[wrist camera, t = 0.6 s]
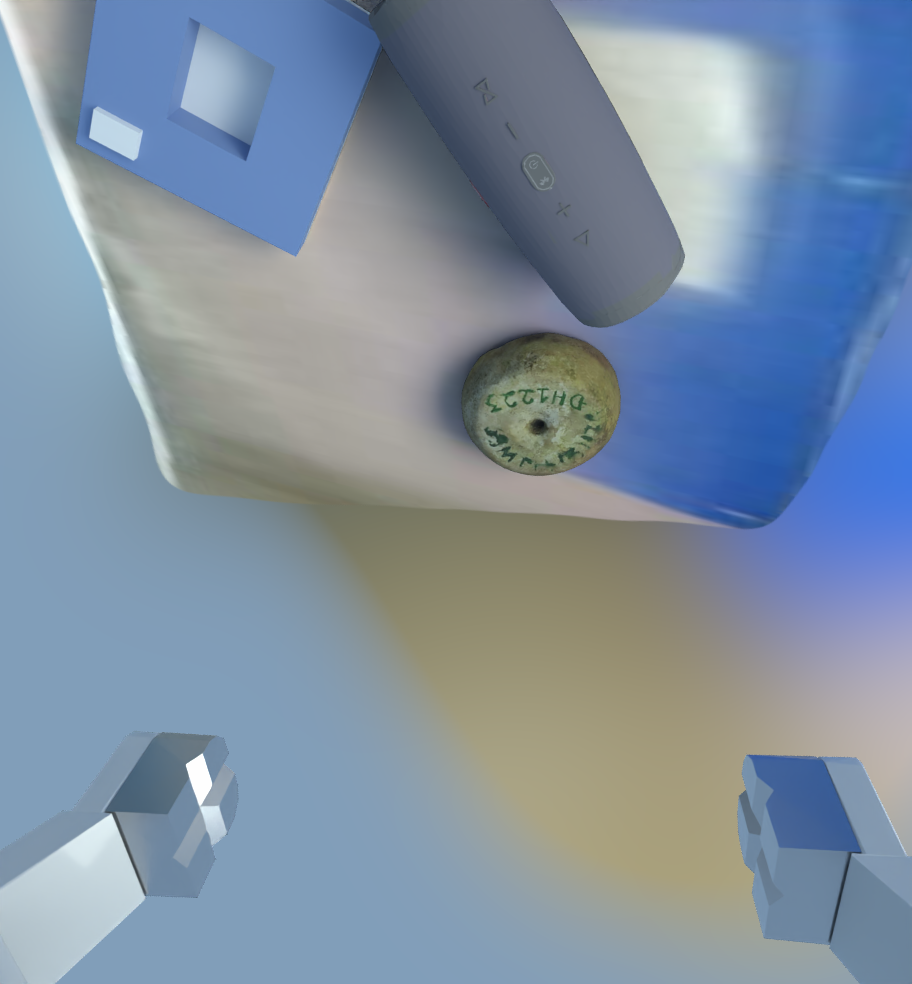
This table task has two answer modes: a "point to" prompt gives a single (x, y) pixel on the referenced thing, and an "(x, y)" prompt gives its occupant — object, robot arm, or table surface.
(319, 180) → the socket
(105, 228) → the table surface
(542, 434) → the weight
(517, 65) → the bluetooth speaker
